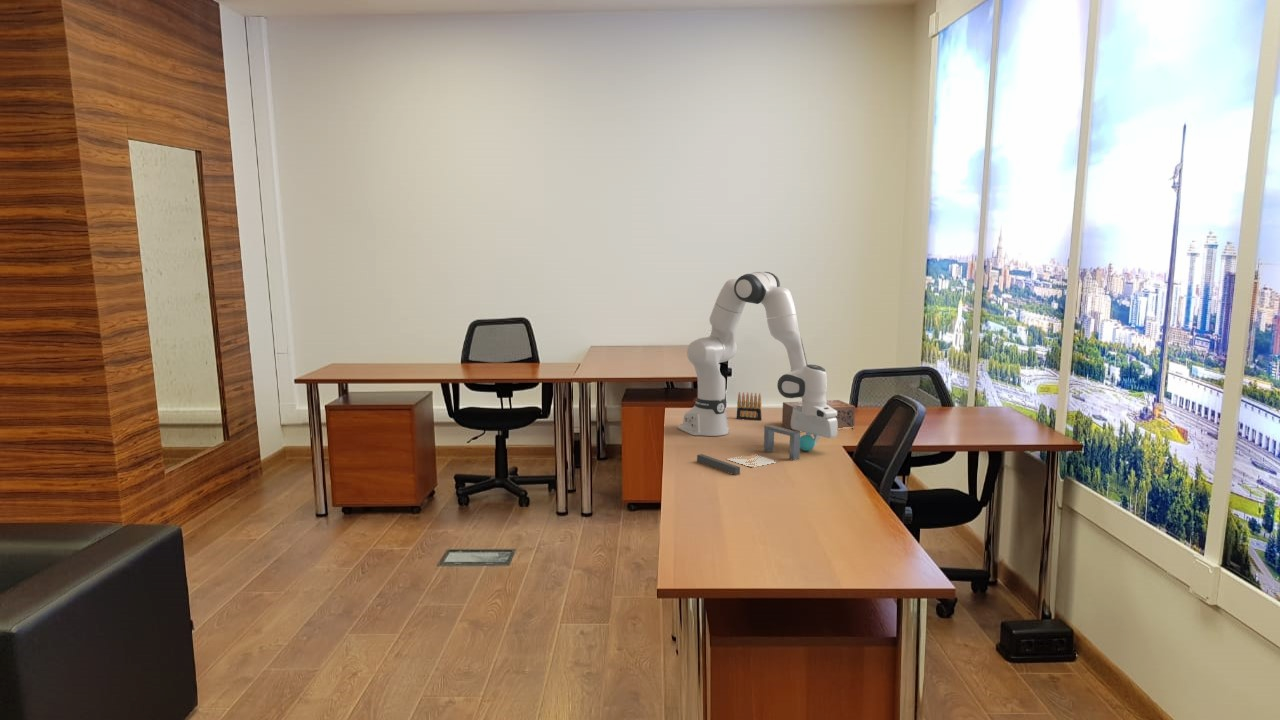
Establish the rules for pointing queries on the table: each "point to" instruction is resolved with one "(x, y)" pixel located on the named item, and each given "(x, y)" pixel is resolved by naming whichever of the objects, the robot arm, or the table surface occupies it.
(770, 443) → the bridge
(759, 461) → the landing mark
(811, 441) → the ball
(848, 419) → the tissue box cover
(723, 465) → the stopper
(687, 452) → the table surface
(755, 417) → the ammunition clip
